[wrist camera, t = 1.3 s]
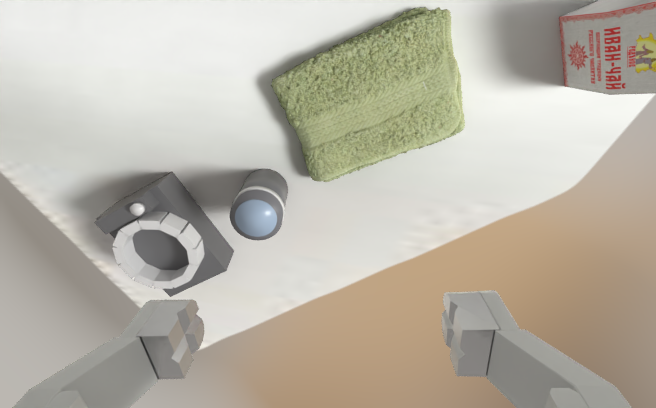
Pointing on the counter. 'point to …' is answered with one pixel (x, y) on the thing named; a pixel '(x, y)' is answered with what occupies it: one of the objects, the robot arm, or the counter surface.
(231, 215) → the lens
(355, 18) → the counter surface
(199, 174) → the counter surface
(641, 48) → the white food carton
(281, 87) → the washcloth
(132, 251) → the camera body
